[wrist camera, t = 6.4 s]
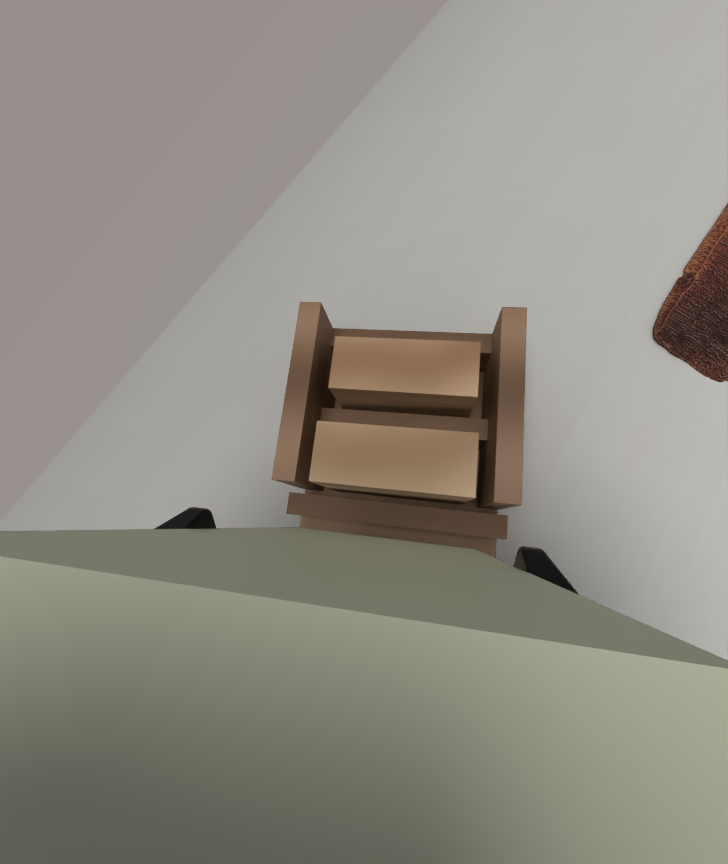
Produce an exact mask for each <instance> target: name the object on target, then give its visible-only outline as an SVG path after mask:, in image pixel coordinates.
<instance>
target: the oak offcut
mask: <svg viewBox="0 0 728 864" xmlns="http://www.w3.org/2000/svg"><path fill="white" fill-rule="evenodd" d="M478 443H479V433H473V432H460V431H447V430H434V429H421V428H407V427H394V426H381V425H368V424H355V423H341V422H328V421H317V425H316V432H315V439H314V446H313V453H312V460H311V468H310V475H309V481H310V482H313V483H315V484H318V485H321V486H323V487H326V488H329V489H331V490H334V491H337V492H345V493H354V494H364V495H373V496H383V497H392V498H402V499H411V500H421V501H430V502H440V503H449V504H459V505H462V504H464V503H466V502H468V501H470V500H472V499H474V498H476V481H477V462H478Z"/></svg>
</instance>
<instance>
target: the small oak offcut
mask: <svg viewBox="0 0 728 864" xmlns="http://www.w3.org/2000/svg"><path fill="white" fill-rule="evenodd" d="M480 347H481V342H469V341H444V340H419V339H393V338H368V337H343V336H335V342H334V349H333V356H332V364H331V371H330V378H329V385H328V388H329V390H330V391H331V392H332V394H333V395H334V397H335V398H336V400H337V401H338V403H339V404H340V405H341V407H342V408H343V409H349V410H363V411H377V412H392V413H406V414H420V415H434V416H449V417H463V418H469V416H470V414H471V411H472V409H473V407H474V404H475V402H476V400H477V398H478V384H479V366H480Z"/></svg>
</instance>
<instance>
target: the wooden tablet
mask: <svg viewBox="0 0 728 864" xmlns="http://www.w3.org/2000/svg"><path fill="white" fill-rule="evenodd" d="M654 337H655V339H656V340H657V341H658V342H659V343H660V344H661V345H663V346H665V347H666V348H667V349H668V350H669V351H670V352H671V353H673V354H674V355H675V356H677V357H679V358H681V359H683V360H685V361H686V362H688V363H689V364H690V365H691V366H692V367H693V368H694V369H695V370H697V371H698V372H699V373H701V374H702V375H704V376H705V377H709V378H710V379H712V380H715V381H718V382H723V381H728V205H727V206H726V208H725V209H724V210H723V212H722V213H721V215H720V217H719V218H718V220H717V221H716V223H715V224H714V226H713V227H712V229H711V230H710V232H709V233H708V234H707V236H706V237H705V239H704V240H703V242H702V243H701V245H700V247H699V248H698V250H697V251H696V252H695V254H694V255H693V257H692V258H691V260H690V261H689V263H688V264H687V266H686V267H685V270H684V274H683V276H682V277H680V278H678V280H677V282H676V284H675V286H674V288H673V289H672V291H671V292H670V294H669V296H668V297H667V299H666V301H665V302H664V304H663V306H662V308H661V310H660V313H659V315H658V318H657V321H656V324H655V327H654Z"/></svg>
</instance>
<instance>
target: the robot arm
mask: <svg viewBox="0 0 728 864" xmlns="http://www.w3.org/2000/svg"><path fill="white" fill-rule="evenodd" d="M155 529H216V526H215V522H214V519H213V516H212V513H211V511H210V510H209V509H205V508H197V507H192V508H189V509H187V510H185V511H184V512H182V513H180V514H179V515H177V516H175V517H174V518H172V519H170V520H168V521H167V522H165V523H163V524H162V525H160V526H158V527H157V528H155ZM514 567H516V568H518V569H520V570H523V571H525V572H527V573H530V574H533V575H535V576H537V577H539V578H542V579H544V580H546V581H549V582H551V583H553V584H555V585H558V586H560V587H562V588H564V589H567V590H569V591H571V592H573V593H576V594H578V593H577V591H576V590H575V589H574V588H573V587H572V585H571V584H570V583H569V582H568V580H567V579H566V578H565V577H564V575H563V574H562V573H561V572H560V570H559V569H558V568H557V567H556V565H555V564H554V563H553V562H552V560H551V559H550V558H549V557H548V555H547V554H546V553H545V552H544V551H543V550H542V549H539V548H532V547H524V546H523V547H520V548H519V550H518V552H517V556H516V559H515V563H514ZM578 595H579V594H578Z"/></svg>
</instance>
